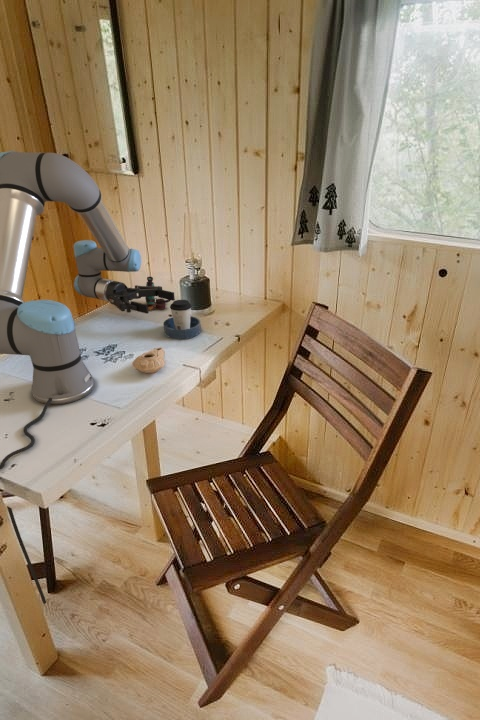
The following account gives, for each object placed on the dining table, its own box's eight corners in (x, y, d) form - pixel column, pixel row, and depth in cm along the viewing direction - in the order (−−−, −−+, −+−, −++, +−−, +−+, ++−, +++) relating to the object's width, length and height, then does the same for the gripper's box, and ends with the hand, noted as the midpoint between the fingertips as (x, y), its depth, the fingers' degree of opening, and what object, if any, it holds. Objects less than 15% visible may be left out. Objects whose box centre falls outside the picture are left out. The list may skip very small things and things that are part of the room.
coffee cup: (179, 337, 153) (176, 307, 147) (168, 330, 157) (165, 301, 152) (197, 331, 156) (195, 303, 151) (186, 325, 161) (184, 297, 156)
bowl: (187, 342, 150) (186, 332, 148) (157, 335, 155) (156, 325, 153) (208, 329, 159) (207, 320, 157) (179, 322, 164) (178, 313, 162)
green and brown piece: (171, 284, 168) (142, 282, 166) (170, 312, 174) (143, 311, 172) (170, 276, 176) (143, 275, 174) (170, 303, 181) (143, 302, 179)
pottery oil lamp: (175, 358, 140) (177, 343, 134) (155, 387, 133) (156, 373, 128) (149, 345, 140) (149, 330, 134) (127, 374, 133) (127, 359, 128)
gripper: (138, 291, 175) (184, 302, 167) (87, 313, 156) (136, 326, 148) (135, 271, 171) (182, 281, 163) (83, 291, 152) (133, 303, 144)
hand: (161, 302), depth 155 cm, fingers open, 13 cm apart
